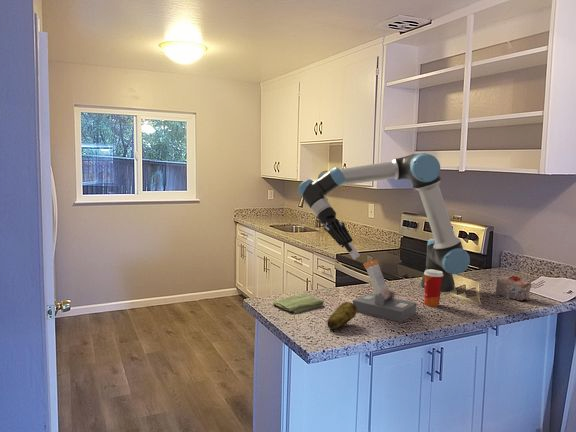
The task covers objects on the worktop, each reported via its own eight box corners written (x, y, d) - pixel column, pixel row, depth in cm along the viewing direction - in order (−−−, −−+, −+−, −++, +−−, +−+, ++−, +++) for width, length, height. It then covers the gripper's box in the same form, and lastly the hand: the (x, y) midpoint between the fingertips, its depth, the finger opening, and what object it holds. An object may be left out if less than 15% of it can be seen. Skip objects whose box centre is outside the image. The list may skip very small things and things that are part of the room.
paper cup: (427, 300, 194) (429, 268, 192) (444, 305, 188) (447, 271, 187) (418, 304, 188) (420, 270, 187) (435, 308, 183) (437, 274, 181)
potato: (318, 325, 161) (319, 302, 160) (348, 320, 167) (349, 298, 166) (331, 333, 153) (332, 310, 153) (362, 327, 159) (364, 305, 159)
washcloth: (270, 306, 181) (271, 298, 181) (304, 299, 192) (304, 291, 192) (291, 315, 171) (292, 307, 171) (326, 307, 182) (326, 299, 182)
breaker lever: (379, 303, 175) (363, 263, 178) (386, 300, 180) (370, 261, 183) (385, 301, 173) (369, 261, 176) (392, 298, 178) (377, 258, 181)
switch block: (352, 310, 178) (353, 291, 177) (369, 302, 189) (370, 284, 188) (400, 322, 166) (401, 302, 165) (415, 313, 177) (417, 294, 176)
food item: (532, 300, 199) (534, 278, 198) (523, 303, 194) (525, 280, 193) (502, 292, 209) (503, 271, 208) (492, 295, 205) (494, 273, 204)
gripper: (326, 216, 198) (358, 260, 190) (309, 218, 188) (342, 265, 179) (338, 205, 194) (371, 249, 186) (320, 206, 184) (355, 254, 176)
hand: (356, 257), depth 183 cm, fingers closed
